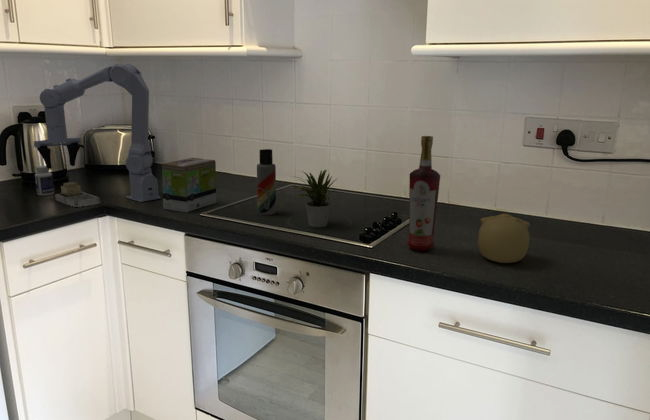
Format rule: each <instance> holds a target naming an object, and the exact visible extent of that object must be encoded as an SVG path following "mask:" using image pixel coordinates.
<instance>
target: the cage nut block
mask: <svg viewBox="0 0 650 420" xmlns="http://www.w3.org/2000/svg"><path fill="white" fill-rule="evenodd" d="M60 190H61V192H60V193H62V196H65V197H71V196H77V195H81V191H82V188H81V185H79V184H78V182H76V181H75V182H74V181H68V182H63V185H61V186H60Z"/></svg>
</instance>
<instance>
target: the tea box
mask: <svg viewBox="0 0 650 420" xmlns="http://www.w3.org/2000/svg"><path fill="white" fill-rule="evenodd" d="M216 164H217V163H216V159H208V158H207V159H206V158H198V157H189V158H183V159H180V160H174V161H169V162H163V163H161V178H162V182H161V183H162V203H163V204H162V205H163V209H165V210H169V211H175V212H179V213H180V212H182V213H189V212H192V211H195V210H197V209H201V208H203V207H206V206H210V205H214V204H217V171H216V170H217V169H216V167H217V166H216Z"/></svg>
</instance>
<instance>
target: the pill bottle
mask: <svg viewBox="0 0 650 420" xmlns="http://www.w3.org/2000/svg"><path fill="white" fill-rule="evenodd" d="M35 171H36V173H35V174H34V179H35V187H36V195H38V196H42V197H43V196H51V195H55V186H54V177H53V173H52V172H50V169H48V168H47V167H46V165H39V166H35Z"/></svg>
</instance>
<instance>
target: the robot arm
mask: <svg viewBox="0 0 650 420" xmlns="http://www.w3.org/2000/svg"><path fill="white" fill-rule="evenodd" d="M105 82H107V83H111V82H113V83H114V84H116V85H117V86H120V87H121V88H124V89H125V91H127V92H128V93H129V94H130V95H131V133H130V134H131V140H130V141H131V142H130V143H131V144H130V147H129V148H128V155H127V157H126V159H125V166H126V169H127V170H128V174H129V175H128V176H129V187H130V195H126V196H125V198H126V199H129V200H132V201H135V202H139V203H142V202H148V201H152V200H154V201H155V200H158V199H162V196H160V195H159V181H158V179H157V177H156V176H154V175H153V170H152V168H151V167H152V165H153V162H154V158H153V155H152V153H151V147H150V146H149V115H150V114H149V113H150V112H149V111H150V110H149V109H150V108H149V106H150V104H149V103H150V90H149V88H148V85H147V84H146V83H147V82H145V80H144V78H143V75H142V72H141V71H140V69H138V68H137V67H136V66H134V65H132V64H121V63H120V64H119V63H117V64H114V65H113V66H111V65H110V66H107V67H104V68H103V69H100V70H98V71H96V72H94V73H92V74H90V75H88V76H86V77H84V78H82V79H80V80H78V78H77V79H76V78H67V79H65V82H63V83H61V84H59V85H58V84H55V85H53V88H52V89H51V88H44V90H42V91H41V93H40V94H39V101H40V103H41V104H42V106H44V115H45V124H46V132H47V139H43V140H42V139H41V140H34V141H33V147H34V148H35V149H37V152H39V154H40V156H41V157H42V159H43V161H44V163H45V166H46V167H47V168H48V169H49V170H51V169H53V167H52V160H51V159H52V158H51V148H49V147H56V146H65V145H66V149H67V153H68V160H69V165H70V166H71V167H75V166H76V160H77V156H78V153H79V150H80V148H81V145H82V138H81V137H68V133H67V125H66V117H65V104H66V103H69V102H71V101H73V100H76V99H78V98H80V97H82V96H84V95H85V92H86V90H88V89H90V88H93V87H95V86H98V85H100V84H103V83H105ZM80 144H81V145H80Z"/></svg>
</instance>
